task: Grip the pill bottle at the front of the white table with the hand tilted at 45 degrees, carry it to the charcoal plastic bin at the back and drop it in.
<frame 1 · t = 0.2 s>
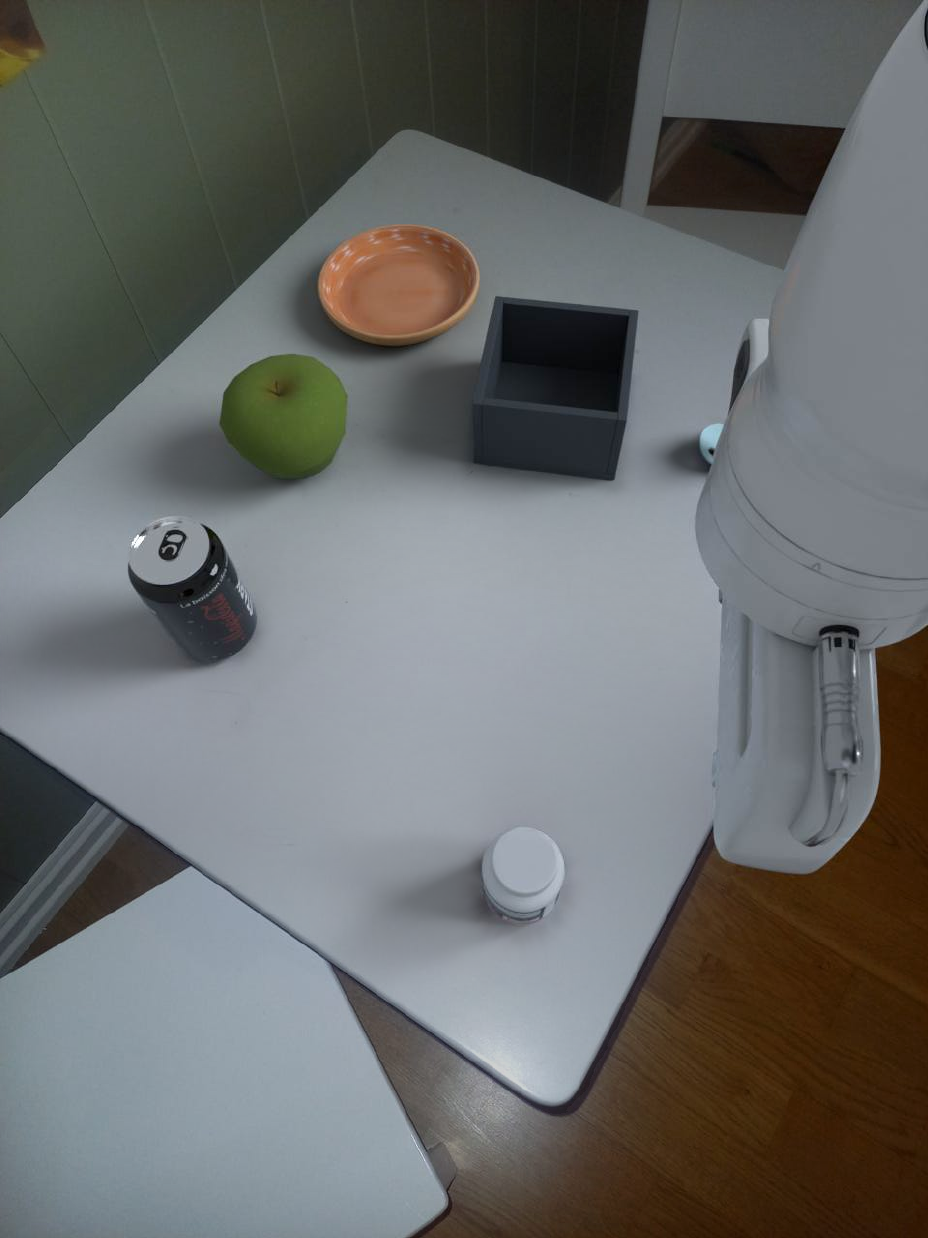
hand: (732, 680, 40), 23 cm above the table, tool pointing down, fingers open, 8 cm apart
pill bottle: (520, 886, 59), on the table
beverage can: (219, 630, 69), on the table
saucer: (401, 302, 86), on the table
pacifier: (738, 457, 76), on the table
apple: (300, 459, 77), on the table
bin: (551, 417, 78), on the table
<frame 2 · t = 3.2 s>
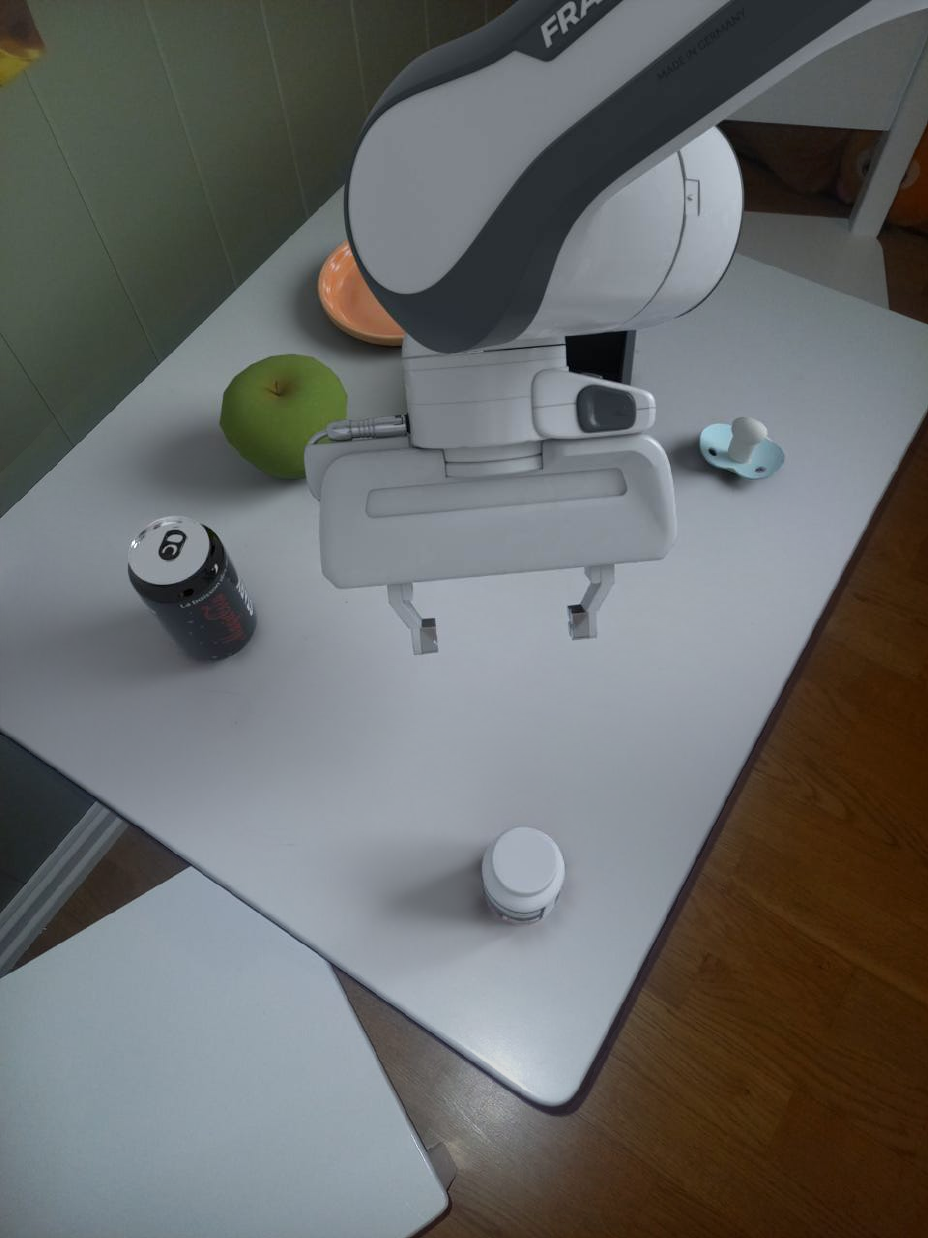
hand: (504, 644, 51), 15 cm above the table, tool tilted 45°, fingers open, 8 cm apart
nothing on the table moved.
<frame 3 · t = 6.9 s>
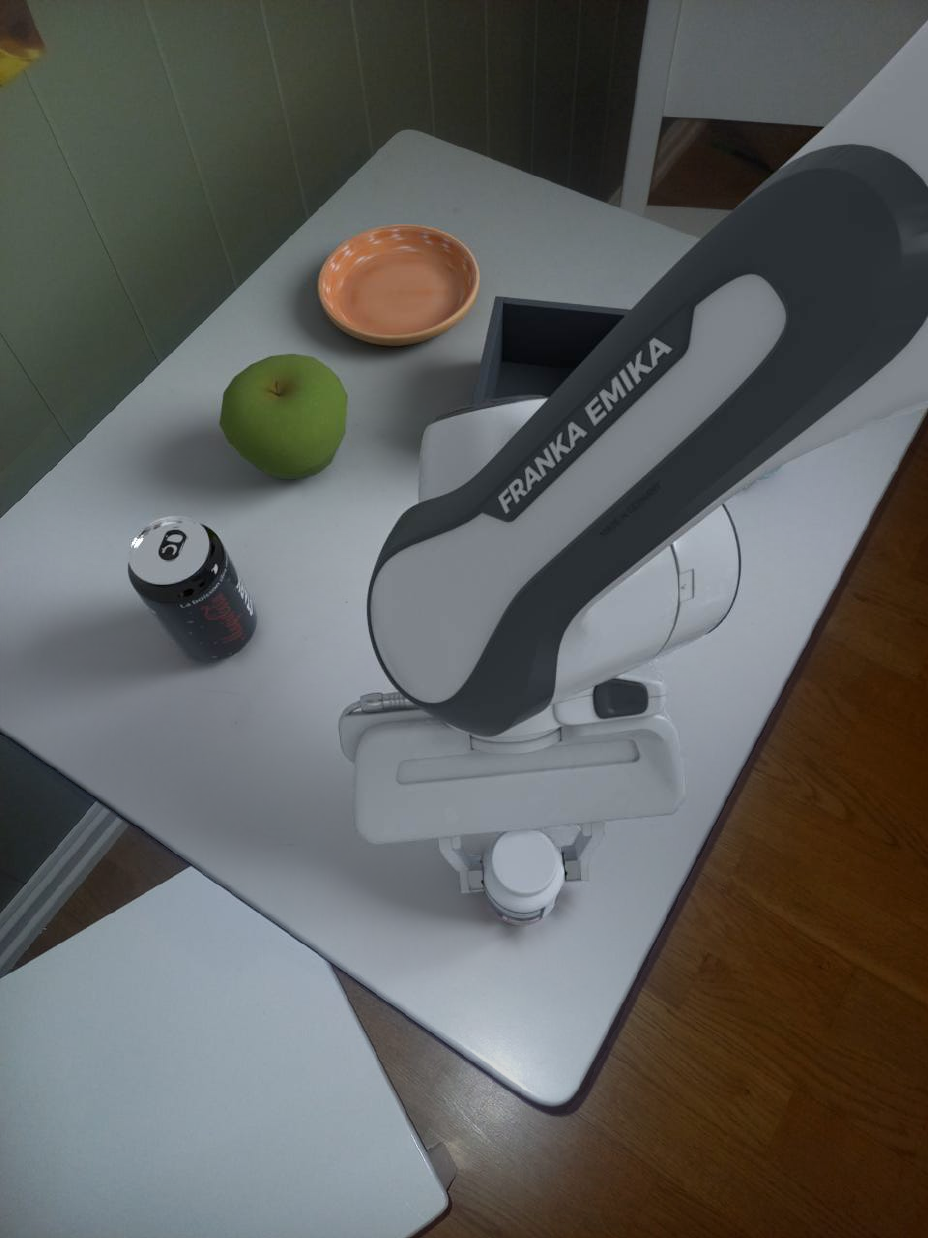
hand: (524, 882, 54), 5 cm above the table, tool tilted 45°, fingers closed on pill bottle, 5 cm apart
pill bottle: (520, 886, 59), on the table, touching gripper
everything else where it was.
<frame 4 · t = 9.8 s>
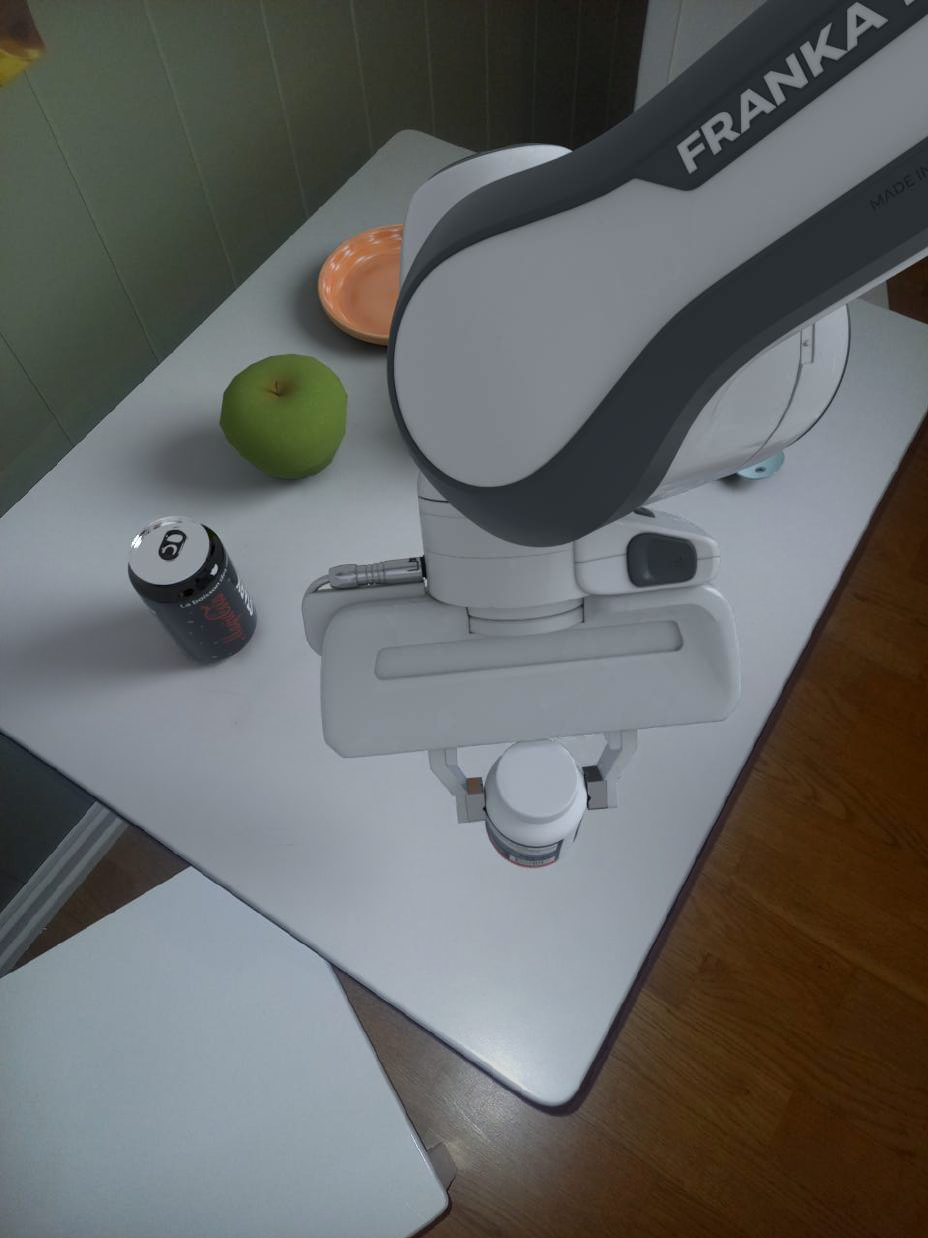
hand: (536, 810, 44), 17 cm above the table, tool tilted 45°, fingers closed on pill bottle, 5 cm apart
pill bottle: (530, 823, 48), point 12 cm above the table, touching gripper
everything else where it was.
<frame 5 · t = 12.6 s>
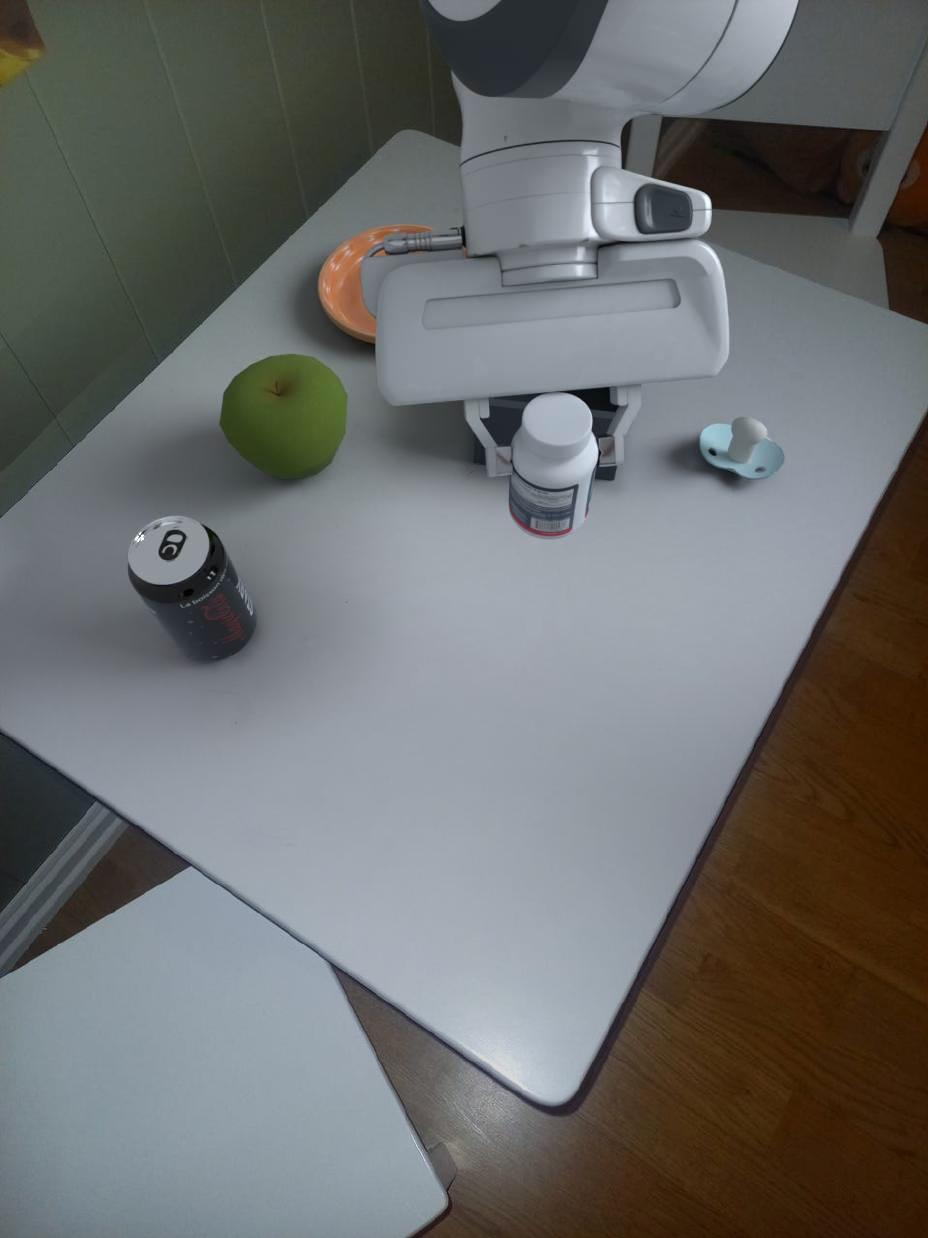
hand: (555, 470, 51), 19 cm above the table, tool tilted 45°, fingers closed on pill bottle, 5 cm apart
pill bottle: (547, 510, 56), point 14 cm above the table, touching gripper
everything else where it was.
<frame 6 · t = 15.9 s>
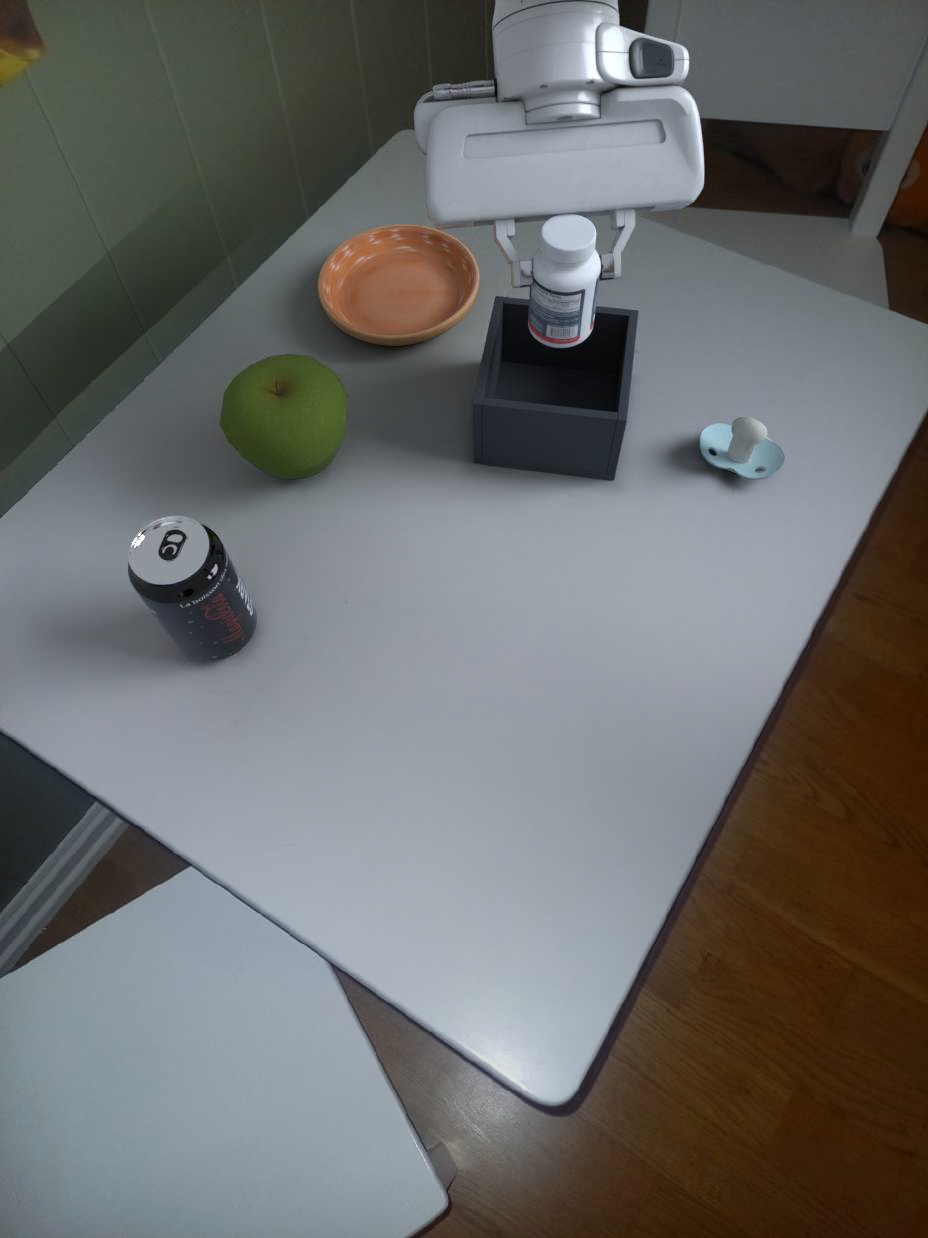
hand: (566, 283, 64), 16 cm above the table, tool tilted 45°, fingers closed on pill bottle, 5 cm apart
pill bottle: (559, 328, 69), point 11 cm above the table, touching gripper
everything else where it was.
when the fingers open (7 cm above the table, at t = 18.5 s): pill bottle drops 2 cm, resting on bin.
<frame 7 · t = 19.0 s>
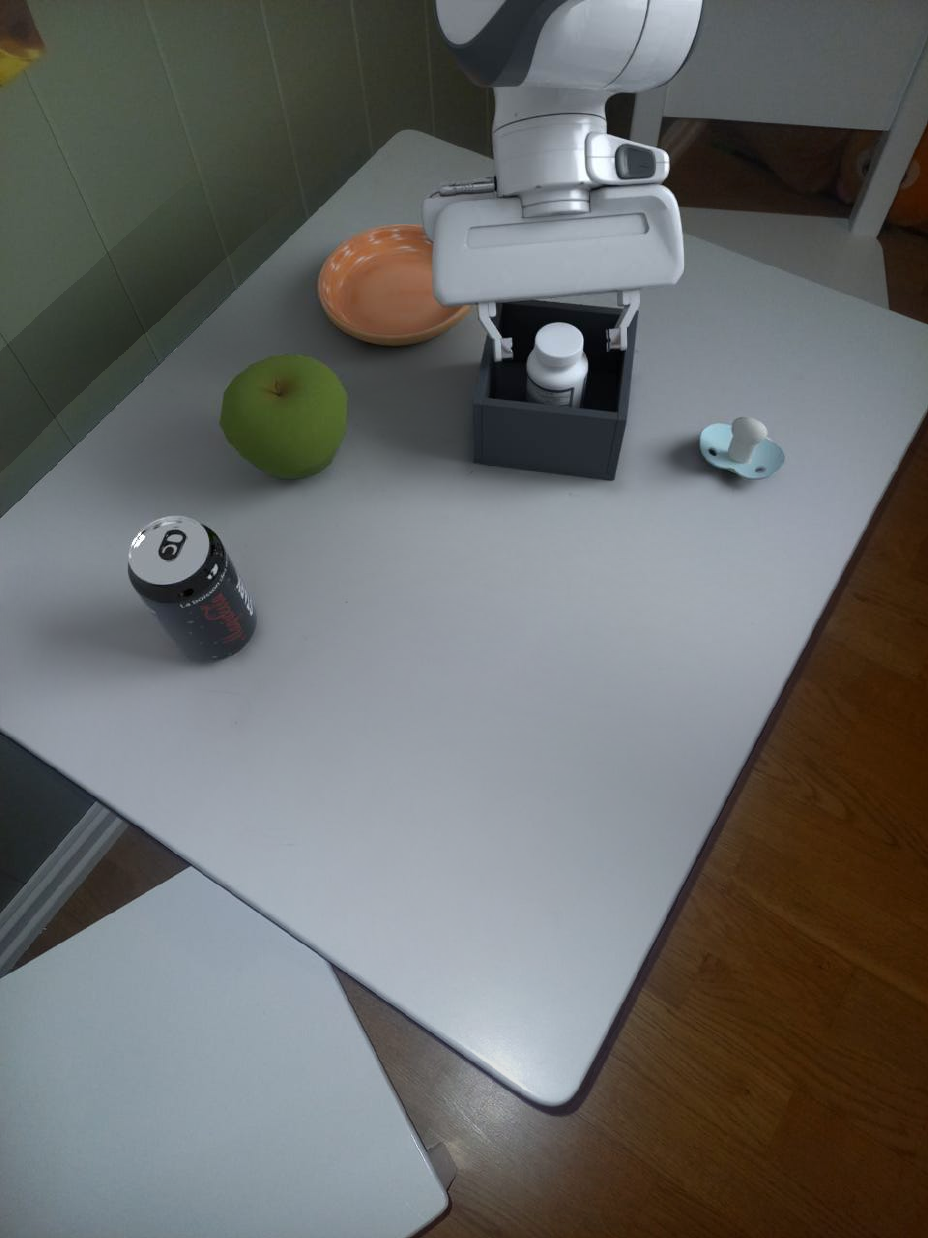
hand: (559, 356, 70), 8 cm above the table, tool tilted 45°, fingers open, 8 cm apart
pill bottle: (552, 413, 78), point 1 cm above the table, touching bin
everything else where it was.
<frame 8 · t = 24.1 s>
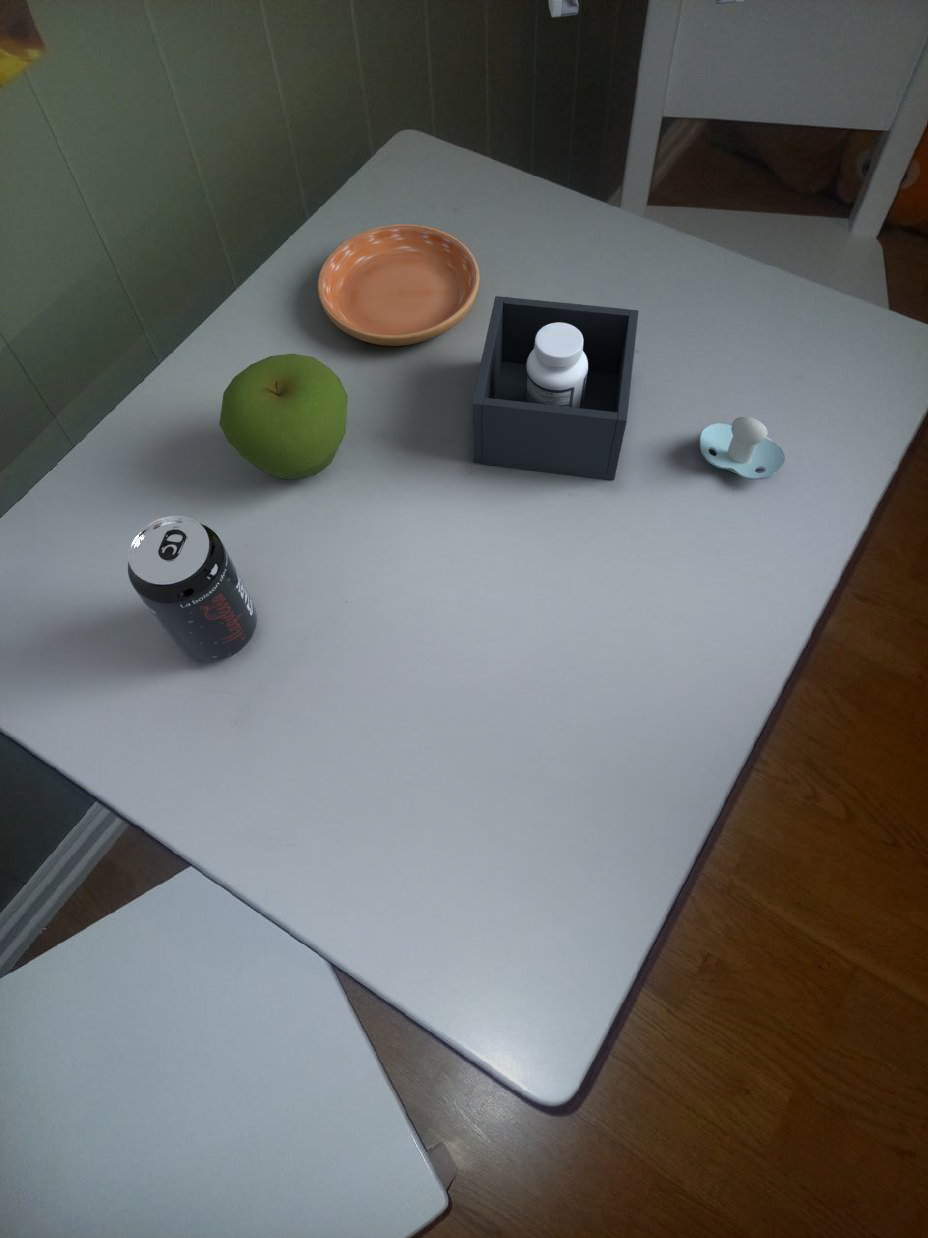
hand: (645, 4, 48), 34 cm above the table, tool pointing down, fingers open, 8 cm apart
nothing on the table moved.
at the end: pill bottle inside the target area in the bin (0.0 cm from its centre), point 0.6 cm above the bin's base; the gripper is holding nothing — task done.
